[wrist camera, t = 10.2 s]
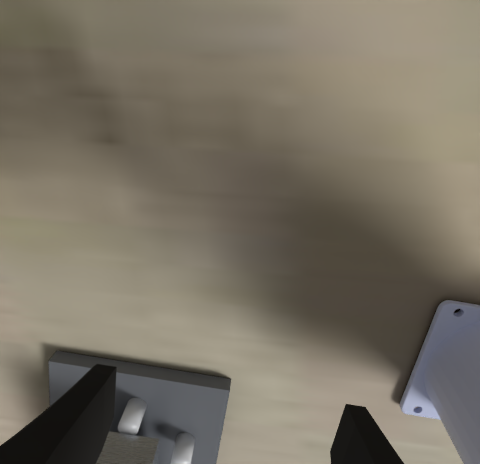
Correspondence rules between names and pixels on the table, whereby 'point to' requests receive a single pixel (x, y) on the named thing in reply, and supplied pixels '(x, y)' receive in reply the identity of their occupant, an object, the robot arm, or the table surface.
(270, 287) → the table surface
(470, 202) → the table surface
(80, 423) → the robot arm
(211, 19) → the table surface
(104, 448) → the block
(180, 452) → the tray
